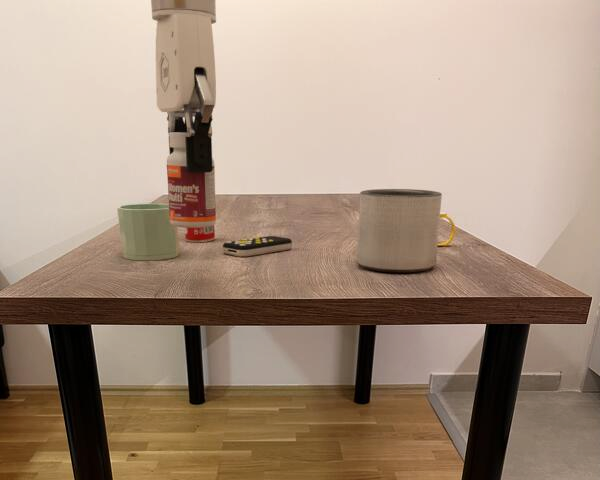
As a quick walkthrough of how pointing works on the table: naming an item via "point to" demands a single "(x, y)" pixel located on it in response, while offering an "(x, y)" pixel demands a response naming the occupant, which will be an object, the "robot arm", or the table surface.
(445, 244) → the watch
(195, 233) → the beverage can
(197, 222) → the pill bottle
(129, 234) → the holder
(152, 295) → the table surface
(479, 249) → the table surface
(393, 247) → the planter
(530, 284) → the table surface
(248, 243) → the remote control
